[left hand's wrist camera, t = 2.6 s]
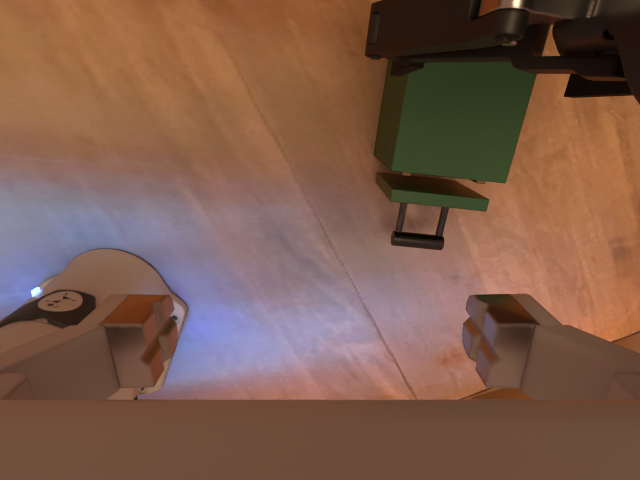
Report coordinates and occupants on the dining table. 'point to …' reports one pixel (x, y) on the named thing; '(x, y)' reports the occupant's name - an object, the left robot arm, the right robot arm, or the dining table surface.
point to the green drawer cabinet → (453, 119)
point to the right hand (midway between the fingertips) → (486, 67)
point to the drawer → (427, 194)
